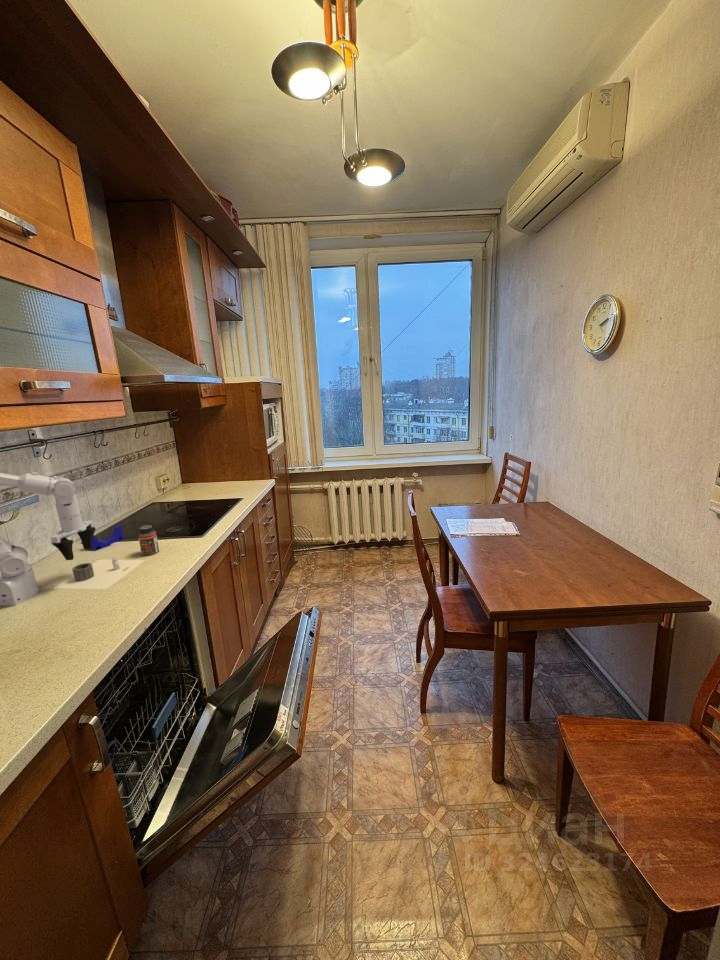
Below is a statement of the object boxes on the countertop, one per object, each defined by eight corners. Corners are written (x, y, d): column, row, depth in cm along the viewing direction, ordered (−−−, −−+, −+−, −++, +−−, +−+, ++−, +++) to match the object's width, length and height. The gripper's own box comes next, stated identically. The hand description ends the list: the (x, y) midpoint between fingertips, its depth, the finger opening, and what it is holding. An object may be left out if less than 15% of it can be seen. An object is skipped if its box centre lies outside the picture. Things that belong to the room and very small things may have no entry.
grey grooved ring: (85, 581, 124) (83, 570, 123) (71, 581, 124) (68, 570, 123) (97, 573, 129) (95, 563, 128) (83, 573, 129) (81, 562, 128)
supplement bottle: (140, 559, 141) (134, 530, 138) (144, 552, 146) (139, 525, 143) (157, 556, 142) (152, 528, 139) (161, 550, 148) (156, 523, 145)
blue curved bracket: (95, 551, 149) (91, 537, 148) (89, 549, 151) (86, 535, 150) (126, 540, 159) (123, 527, 158) (120, 538, 161) (117, 525, 160)
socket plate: (106, 591, 119) (103, 577, 118) (53, 590, 121) (49, 577, 119) (146, 561, 138) (143, 549, 137) (100, 561, 140) (97, 549, 139)
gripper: (62, 523, 114) (72, 564, 117) (98, 507, 128) (106, 544, 131) (40, 523, 114) (51, 564, 118) (78, 508, 128) (87, 544, 132)
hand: (79, 554), depth 125 cm, fingers open, 7 cm apart
